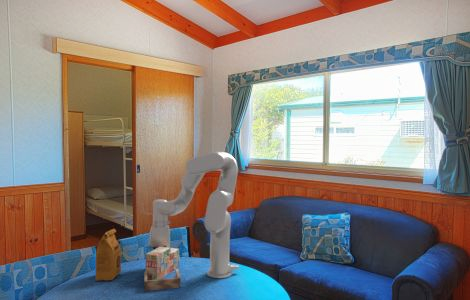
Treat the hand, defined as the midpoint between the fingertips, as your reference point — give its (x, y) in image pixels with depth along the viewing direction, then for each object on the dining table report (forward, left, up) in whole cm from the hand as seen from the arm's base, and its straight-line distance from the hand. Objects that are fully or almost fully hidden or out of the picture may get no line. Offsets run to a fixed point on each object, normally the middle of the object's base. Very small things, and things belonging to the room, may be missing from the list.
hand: (159, 258), depth 173 cm
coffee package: (+24, +9, -4) cm, 26 cm away
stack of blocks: (-2, +8, -5) cm, 10 cm away
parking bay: (0, +22, -4) cm, 22 cm away
